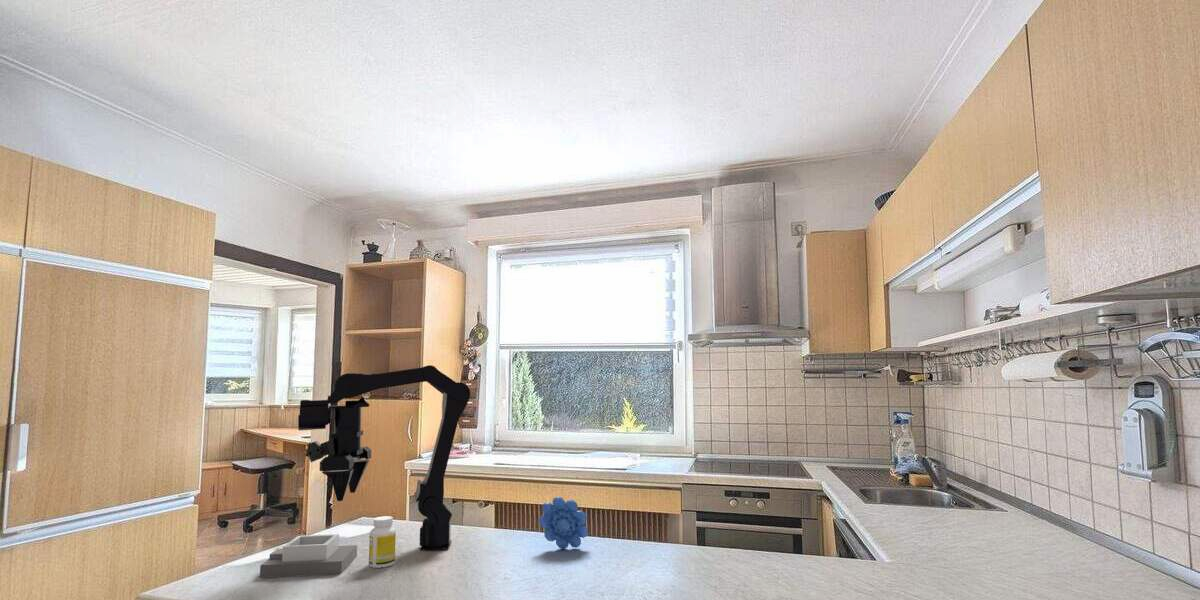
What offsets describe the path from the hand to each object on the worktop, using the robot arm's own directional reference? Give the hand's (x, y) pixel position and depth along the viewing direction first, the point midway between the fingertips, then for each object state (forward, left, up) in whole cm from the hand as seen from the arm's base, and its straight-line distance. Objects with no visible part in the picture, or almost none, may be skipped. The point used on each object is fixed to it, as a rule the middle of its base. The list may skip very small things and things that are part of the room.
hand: (346, 496), depth 138 cm
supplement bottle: (-10, +7, -14) cm, 18 cm away
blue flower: (-50, +3, -14) cm, 52 cm away
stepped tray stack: (+5, +6, -13) cm, 15 cm away
